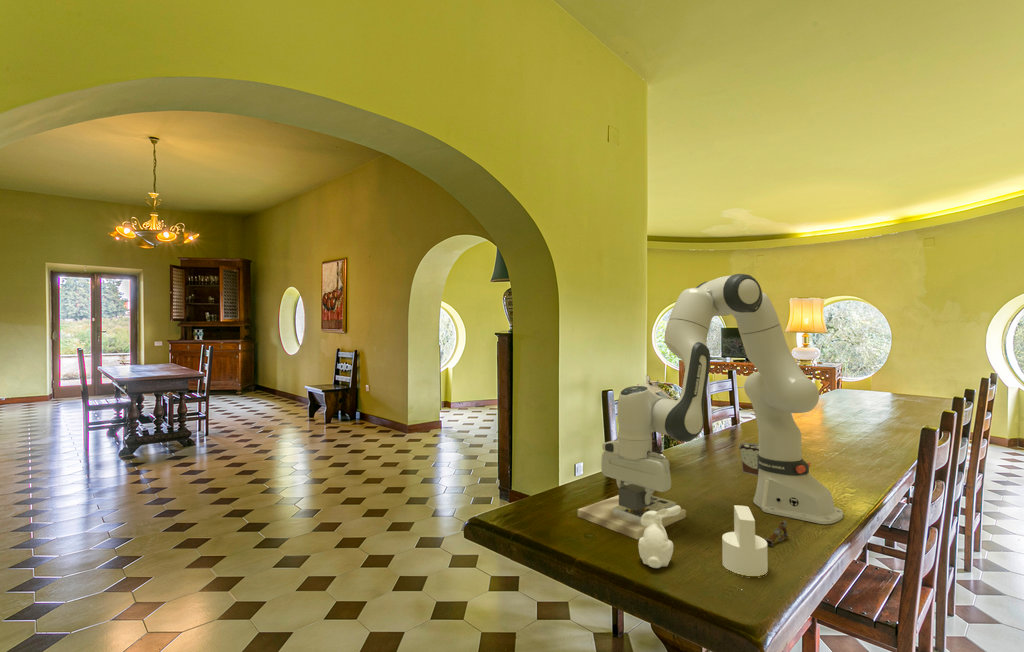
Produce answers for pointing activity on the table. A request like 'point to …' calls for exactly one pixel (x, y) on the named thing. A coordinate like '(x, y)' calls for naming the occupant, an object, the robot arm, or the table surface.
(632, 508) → the plug
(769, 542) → the wooden post with brackets
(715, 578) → the table surface
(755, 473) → the food container
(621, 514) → the socket
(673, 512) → the rabbit
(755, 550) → the cylinder with rectangular tab
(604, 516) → the board
